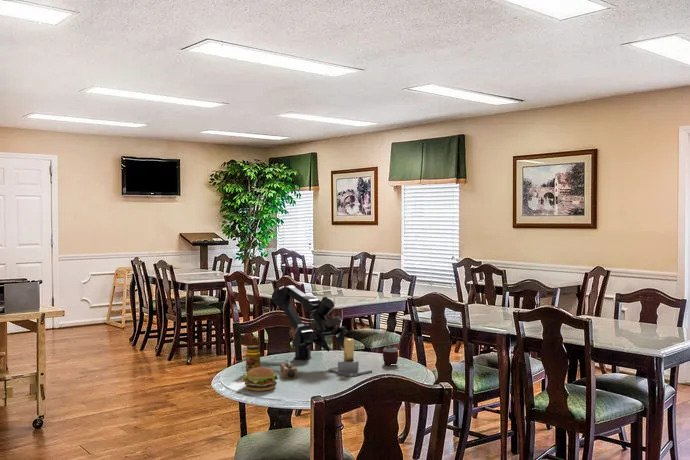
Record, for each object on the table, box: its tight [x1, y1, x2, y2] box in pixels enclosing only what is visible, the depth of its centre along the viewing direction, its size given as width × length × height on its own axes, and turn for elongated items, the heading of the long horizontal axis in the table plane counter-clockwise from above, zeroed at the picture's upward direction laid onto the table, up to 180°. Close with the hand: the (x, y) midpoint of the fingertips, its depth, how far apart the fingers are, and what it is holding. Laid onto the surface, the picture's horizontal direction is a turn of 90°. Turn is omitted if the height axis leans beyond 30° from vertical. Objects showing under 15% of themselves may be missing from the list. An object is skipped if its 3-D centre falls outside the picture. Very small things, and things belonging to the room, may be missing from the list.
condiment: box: [245, 344, 261, 374], centre depth 280 cm, size 7×8×12 cm
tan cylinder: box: [343, 338, 355, 361], centre depth 284 cm, size 4×4×13 cm
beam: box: [279, 361, 298, 380], centre depth 277 cm, size 12×5×4 cm, turn 16°
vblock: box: [328, 357, 373, 378], centre depth 283 cm, size 14×13×5 cm
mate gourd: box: [382, 330, 399, 367], centre depth 297 cm, size 8×8×15 cm
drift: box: [284, 359, 292, 368], centre depth 277 cm, size 9×2×2 cm, turn 16°
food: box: [241, 366, 279, 392], centre depth 257 cm, size 14×14×8 cm
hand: (337, 349), depth 290 cm, fingers open, 9 cm apart
